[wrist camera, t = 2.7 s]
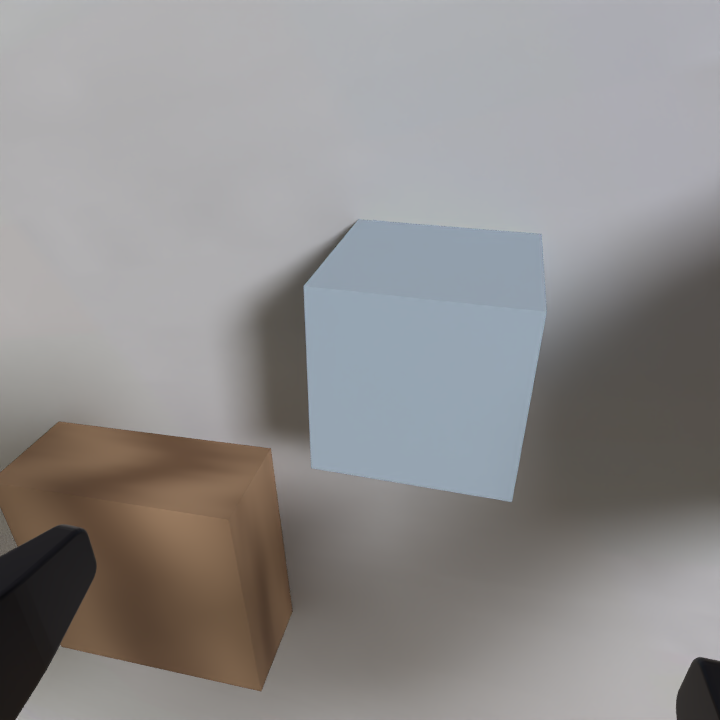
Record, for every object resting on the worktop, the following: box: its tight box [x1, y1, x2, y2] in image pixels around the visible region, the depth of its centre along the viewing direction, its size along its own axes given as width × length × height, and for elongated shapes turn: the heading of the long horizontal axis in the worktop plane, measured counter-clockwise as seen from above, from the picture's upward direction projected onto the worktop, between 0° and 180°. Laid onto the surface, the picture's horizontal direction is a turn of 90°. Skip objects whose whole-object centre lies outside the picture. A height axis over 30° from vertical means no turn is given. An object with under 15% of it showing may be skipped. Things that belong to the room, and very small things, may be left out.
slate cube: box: [304, 219, 547, 502], centre depth 16 cm, size 5×5×5 cm
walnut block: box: [0, 422, 293, 691], centre depth 24 cm, size 9×9×4 cm
